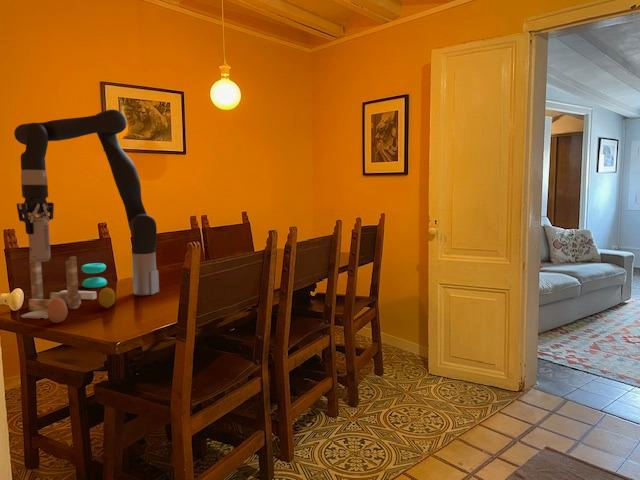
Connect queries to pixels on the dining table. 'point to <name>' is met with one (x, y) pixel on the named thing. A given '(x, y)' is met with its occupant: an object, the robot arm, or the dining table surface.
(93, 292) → the bar
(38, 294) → the cradle
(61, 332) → the dining table surface
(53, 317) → the egg
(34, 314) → the coaster
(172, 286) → the dining table surface
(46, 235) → the energy drink can
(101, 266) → the donuts
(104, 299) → the lemon
